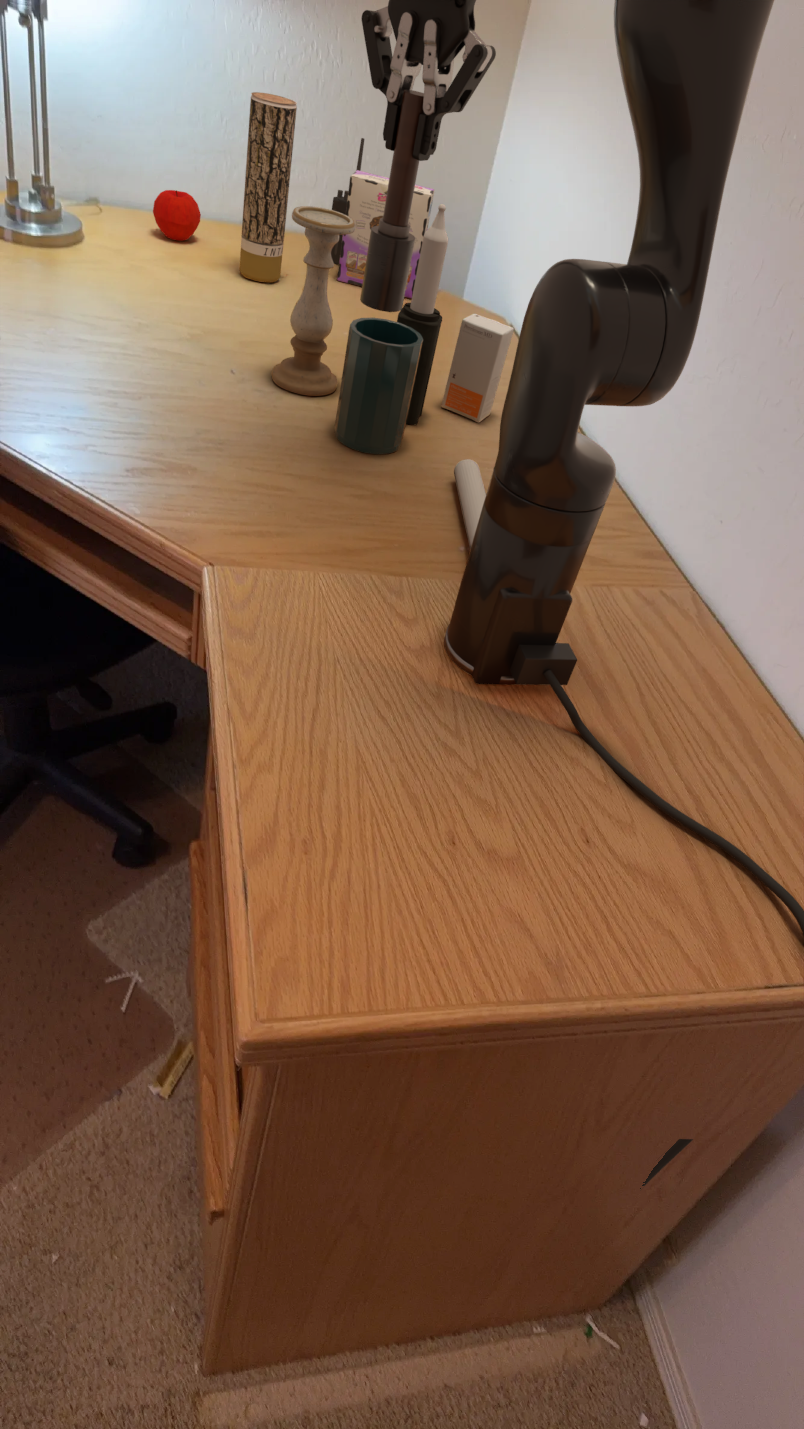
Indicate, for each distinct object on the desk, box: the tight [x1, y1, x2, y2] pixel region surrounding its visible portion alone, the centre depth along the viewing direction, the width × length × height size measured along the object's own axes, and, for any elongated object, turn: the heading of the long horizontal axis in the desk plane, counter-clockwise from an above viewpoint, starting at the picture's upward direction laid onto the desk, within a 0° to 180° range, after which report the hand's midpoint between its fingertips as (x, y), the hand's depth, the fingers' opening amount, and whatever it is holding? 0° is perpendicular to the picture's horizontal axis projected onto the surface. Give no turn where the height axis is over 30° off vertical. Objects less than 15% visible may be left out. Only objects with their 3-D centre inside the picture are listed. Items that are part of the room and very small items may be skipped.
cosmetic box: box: [440, 312, 515, 423], centre depth 117 cm, size 6×4×12 cm
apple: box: [152, 189, 202, 242], centre depth 151 cm, size 8×8×7 cm
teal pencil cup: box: [333, 317, 423, 455], centre depth 104 cm, size 8×8×13 cm
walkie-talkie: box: [331, 137, 365, 266], centre depth 155 cm, size 5×3×20 cm
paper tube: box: [238, 91, 298, 283], centre depth 138 cm, size 7×7×25 cm
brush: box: [359, 89, 424, 313], centre depth 88 cm, size 5×5×19 cm
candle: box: [396, 203, 449, 426], centre depth 108 cm, size 5×5×25 cm
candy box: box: [336, 170, 435, 299], centre depth 150 cm, size 14×6×16 cm, turn 82°
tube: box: [453, 458, 487, 550], centre depth 94 cm, size 3×3×25 cm
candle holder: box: [271, 205, 355, 397], centre depth 111 cm, size 9×9×20 cm
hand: (407, 153), depth 85 cm, fingers closed on brush, 2 cm apart
